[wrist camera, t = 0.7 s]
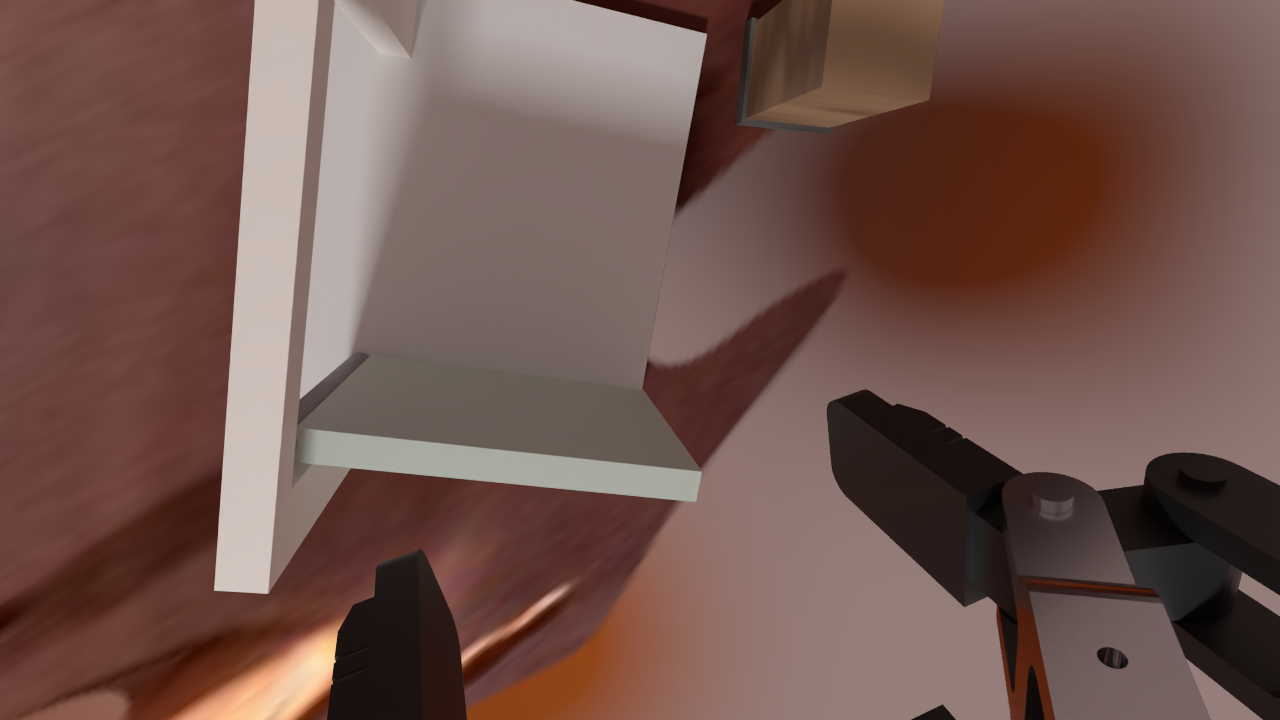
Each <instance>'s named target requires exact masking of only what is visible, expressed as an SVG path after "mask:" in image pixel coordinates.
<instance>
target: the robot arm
mask: <svg viewBox="0 0 1280 720" xmlns="http://www.w3.org/2000/svg"><path fill="white" fill-rule="evenodd" d="M827 421H828V432H829V443H830V455H831V465H832V471H833V474H834V477H835V480H836V481H837V484H838V485H839V487H840V489H841V490H842V492H843V493H844V494H845V495H846V497H847V498H849V499H850V500H851V501H852V502H853V503H854V504H855V505H856V506H857V507H858V508H859V509H860V510H861V511H862V512H863V513H864V514H866V515H867V516H868V517H869V518H870V519H871V520H872V521H873V522H874V523H875V524H876V525H877V526H878V527H880V529H881V530H883V531H884V532H885V533H886V534H887V535H888V536H889V537H890V538H891V539H892V540H893V541H894V542H895V543H896V544H897V545H899V546H900V547H901V548H902V549H903V550H904V551H905V552H906V553H907V554H908V555H909V556H910V557H911V558H912V559H913V560H915V561H916V562H917V563H918V564H919V565H920V566H921V567H922V568H923V569H924V570H925V571H926V572H927V573H928V574H929V575H931V576H932V577H933V578H934V579H935V580H936V581H937V582H938V583H939V584H940V585H941V586H942V587H943V588H944V589H945V590H947V591H948V592H949V593H950V594H951V595H952V596H953V597H954V598H955V599H956V600H957V601H958V602H959V603H961V604H962V605H963V606H964V607H966V606H968V605H970V604H972V603H975V602H977V601H979V600H981V599H984V598H986V597H989V598H990V599H992V600H993V601H994V602H995V603H996V604H997V611H996V618H997V619H996V620H997V626H998V633H999V640H1000V647H1001V654H1002V661H1003V667H1004V674H1005V681H1006V688H1007V695H1008V701H1009V709H1010V719H1011V720H1211V719H1210V716H1209V714H1208V711H1207V709H1206V706H1205V704H1204V702H1203V699H1202V697H1201V694H1200V692H1199V690H1198V687H1197V685H1196V682H1195V680H1194V678H1193V675H1192V673H1191V670H1190V668H1189V665H1188V663H1187V661H1186V659H1188V660H1189V661H1190V662H1192V663H1193V664H1194V665H1195V666H1196V667H1198V668H1199V669H1200V670H1201V671H1203V672H1204V673H1205V674H1206V675H1208V676H1209V677H1210V678H1211V679H1213V680H1214V681H1215V682H1216V683H1218V684H1219V685H1220V686H1221V687H1223V688H1224V689H1225V690H1226V691H1228V692H1229V693H1230V694H1231V695H1233V696H1234V697H1235V698H1236V699H1238V700H1239V701H1240V702H1242V703H1243V704H1244V705H1245V706H1247V707H1248V708H1249V709H1250V710H1252V711H1253V712H1254V713H1255V714H1257V715H1258V716H1259V717H1260V718H1262V719H1263V720H1280V616H1278V615H1277V614H1275V613H1273V612H1272V611H1271V610H1269V609H1268V608H1266V607H1265V606H1263V605H1262V604H1260V603H1258V602H1257V601H1255V600H1254V599H1252V598H1251V597H1249V596H1248V595H1246V594H1245V593H1243V592H1242V591H1240V590H1239V589H1238V587H1239V583H1240V579H1241V575H1242V572H1244V573H1245V574H1247V575H1248V576H1250V577H1251V578H1253V579H1255V580H1256V581H1258V582H1260V583H1261V584H1263V585H1264V586H1266V587H1267V588H1269V589H1271V590H1272V591H1274V592H1275V593H1277V594H1278V595H1280V485H1278V484H1276V483H1274V482H1272V481H1270V480H1268V479H1266V478H1264V477H1262V476H1260V475H1258V474H1255V473H1254V472H1251V471H1250V470H1247V469H1245V468H1243V467H1241V466H1239V465H1237V464H1235V463H1233V462H1230V461H1227V460H1225V459H1222V458H1218V457H1214V456H1210V455H1205V454H1197V453H1171V454H1166V455H1162V456H1159V457H1157V458H1155V459H1153V460H1152V461H1151V462H1149V464H1148V465H1147V468H1146V473H1145V479H1144V485H1139V486H1131V487H1124V488H1116V489H1109V490H1101V491H1096V490H1095V489H1093V488H1092V487H1091V486H1089V485H1088V484H1086V483H1084V482H1082V481H1080V480H1078V479H1075V478H1073V477H1070V476H1066V475H1062V474H1057V473H1049V472H1033V473H1026V474H1022V473H1021V472H1019V471H1018V470H1015V468H1013V467H1011V466H1010V465H1008V464H1007V463H1005V462H1003V461H1002V460H1000V459H999V458H997V457H996V456H994V455H992V454H991V453H989V452H988V451H986V450H984V449H983V448H981V447H980V446H978V445H976V444H975V443H973V442H972V441H970V440H969V439H967V438H965V439H963V437H962V435H961V434H959V433H958V432H956V431H955V430H953V429H951V428H950V427H948V428H946V426H945V424H943V423H942V422H940V421H939V420H937V419H936V418H934V417H932V416H931V415H929V414H928V413H926V412H924V411H921V410H917V409H914V408H911V407H907V406H904V405H900V404H896V405H894V406H892V405H890V404H889V403H887V402H885V401H884V400H883V399H881V398H880V397H878V396H877V395H875V394H874V393H872V392H871V391H869V390H861V391H858V392H855V393H853V394H850V395H847V396H844V397H842V398H839V399H836V400H834V401H831V402H829V404H828V406H827ZM335 660H336V662H335V663H334V668H333V676H332V680H333V685H331V692H330V700H329V708H328V716H327V720H467V716H466V704H465V694H464V683H463V673H462V662H461V652H460V644H459V638H458V634H457V630H456V626H455V623H454V620H453V617H452V614H451V611H450V609H449V607H448V605H447V602H446V600H445V598H444V595H443V593H442V591H441V589H440V586H439V584H438V582H437V580H436V577H435V575H434V573H433V571H432V568H431V566H430V564H429V561H428V559H427V557H426V555H425V553H424V552H423V550H422V549H418V550H415V551H413V552H410V553H407V554H404V555H402V556H399V557H396V558H393V559H391V560H388V561H385V562H382V563H380V564H378V565H377V567H376V580H375V596H374V597H373V598H370V599H367V600H365V601H362V602H359V603H356V604H354V605H353V606H352V608H351V610H350V612H349V613H348V615H347V617H346V619H345V620H344V622H343V624H342V626H341V627H340V629H339V631H338V636H337V644H336V652H335ZM912 720H956V719H955V718H954V717H953V716H952V715H951V714H950V712H949V711H948V710H947V709H946V708H945V707H944V706H943V705H941V706H938V707H937V708H934V709H932V710H930V711H928V712H926V713H924V714H922V715H920V716H918V717H916V718H914V719H912Z"/></svg>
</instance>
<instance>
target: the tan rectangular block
mask: <svg viewBox="0 0 1280 720" xmlns="http://www.w3.org/2000/svg"><path fill="white" fill-rule="evenodd" d="M943 6H944V0H782V1H781V2H780V3H779V4H777V5H776V6H775V7H774V8H773V9H771V10H770V11H769V12H768V13H766V14H765V15H764V16H763V17H761V18H760V19H759V18H751V19H750V20H748V21H747V22H746V23H745V33H744V43H743V53H742V63H741V73H740V83H739V93H738V103H737V114H736V124H735V125H743V126H752V127H761V128H770V129H780V130H789V131H798V132H807V133H817V134H826V133H830V132H832V127H833V126H837V125H840V124H843V123H847V122H851V121H855V120H858V119H862V118H865V117H869V116H872V115H876V114H880V113H883V112H887V111H891V110H894V109H898V108H902V107H905V106H909V105H912V104H916V103H920V102H923V101H927V100H929V98H930V90H931V84H932V77H933V71H934V65H935V58H936V52H937V45H938V39H939V32H940V26H941V19H942V12H943Z"/></svg>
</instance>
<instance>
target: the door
mask: <svg viewBox="0 0 1280 720" xmlns="http://www.w3.org/2000/svg"><path fill="white" fill-rule="evenodd" d="M294 462H296V463H307V464H317V465H327V466H337V467H347V468H357V469H367V470H378V471H388V472H398V473H408V474H418V475H428V476H438V477H448V478H459V479H469V480H479V481H489V482H499V483H509V484H519V485H529V486H540V487H550V488H560V489H570V490H580V491H590V492H600V493H610V494H621V495H631V496H641V497H651V498H661V499H671V500H681V501H692V502H696V499H697V494H698V489H699V484H700V479H701V474H702V471H701V470H700V468H699V467H698V466H697V464H696V463H695V461H694V460H693V459H692V457H691V456H690V454H689V453H688V452H687V450H686V449H685V447H684V446H683V445H682V443H681V442H680V440H679V439H678V438H677V436H676V435H675V433H674V432H673V431H672V429H671V428H670V426H669V425H668V424H667V422H666V421H665V419H664V418H663V417H662V415H661V414H660V412H659V411H658V410H657V408H656V407H655V406H654V404H653V403H652V401H651V400H650V399H649V397H648V396H647V394H646V393H645V392H644V390H639V389H631V388H624V387H616V386H609V385H601V384H594V383H586V382H579V381H571V380H564V379H556V378H549V377H541V376H533V375H526V374H518V373H511V372H503V371H496V370H488V369H481V368H473V367H466V366H458V365H451V364H443V363H436V362H428V361H420V360H413V359H405V358H398V357H390V356H383V355H375V354H372V355H371V356H368V355H367V354H365V353H355V354H353V355H351V356H350V357H349V358H348V359H347V360H345V361H344V362H343V363H342V364H341V365H340V366H338V367H337V368H336V369H335V370H334V371H333V372H331V373H330V374H329V375H328V376H327V377H326V378H324V379H323V380H322V381H321V382H320V383H318V384H317V385H316V386H315V387H314V388H313V389H311V390H310V391H309V392H308V393H307V394H306V395H304V396H303V397H302V398H301V399H300V400H299V410H298V421H297V432H296V444H295V455H294Z"/></svg>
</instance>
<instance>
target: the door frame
mask: <svg viewBox="0 0 1280 720" xmlns="http://www.w3.org/2000/svg"><path fill="white" fill-rule="evenodd" d="M706 37H707V34H705V33H701V32H697V31H693V30H689V29H685V28H681V27H677V26H673V25H669V24H665V23H661V22H657V21H653V20H649V19H645V18H641V17H637V16H633V15H629V14H625V13H621V12H617V11H613V10H609V9H605V8H601V7H597V6H593V5H589V4H585V3H581V2H577V1H573V0H255V10H254V24H253V39H252V53H251V68H250V82H249V97H248V111H247V126H246V140H245V154H244V169H243V183H242V198H241V212H240V227H239V241H238V256H237V270H236V285H235V299H234V313H233V328H232V342H231V357H230V371H229V386H228V400H227V415H226V429H225V444H224V458H223V473H222V487H221V501H220V516H219V530H218V545H217V559H216V574H215V588H214V590H215V591H231V592H248V593H264V594H268V593H269V592H270V590H271V588H272V587H273V585H274V584H275V582H276V581H277V579H278V578H279V576H280V575H281V573H282V572H283V570H284V569H285V567H286V566H287V564H288V563H289V561H290V560H291V558H292V556H293V555H294V553H295V552H296V550H297V549H298V547H299V546H300V544H301V543H302V541H303V540H304V538H305V537H306V535H307V534H308V532H309V531H310V529H311V528H312V526H313V524H314V523H315V521H316V520H317V518H318V517H319V515H320V514H321V512H322V511H323V509H324V508H325V506H326V505H327V503H328V502H329V500H330V499H331V497H332V496H333V494H334V493H335V491H336V489H337V488H338V486H339V485H340V483H341V482H342V480H343V479H344V477H345V476H346V474H347V473H348V471H349V470H350V468H347V467H337V466H327V465H317V464H307V463H296V462H294V455H295V444H296V432H297V421H298V410H299V400H300V399H301V398H302V397H303V396H304V395H306V394H307V393H308V392H309V391H310V390H311V389H313V388H314V387H315V386H316V385H317V384H318V383H320V382H321V381H322V380H323V379H324V378H326V377H327V376H328V375H329V374H330V373H331V372H333V371H334V370H335V369H336V368H337V367H338V366H340V365H341V364H342V363H343V362H344V361H345V360H347V359H348V358H349V357H350V356H351V355H353V354H355V353H365V354H367V355H368V356H371V355H372V354H375V355H383V356H390V357H398V358H405V359H413V360H420V361H428V362H436V363H443V364H451V365H458V366H466V367H473V368H481V369H488V370H496V371H503V372H511V373H518V374H526V375H533V376H541V377H549V378H556V379H564V380H571V381H579V382H586V383H594V384H601V385H609V386H616V387H624V388H631V389H639V390H642V386H643V381H644V375H645V370H646V364H647V359H648V353H649V348H650V343H651V337H652V332H653V326H654V321H655V315H656V310H657V304H658V299H659V293H660V288H661V283H662V277H663V272H664V266H665V261H666V255H667V250H668V244H669V239H670V233H671V228H672V223H673V217H674V212H675V206H676V201H677V195H678V190H679V184H680V179H681V174H682V168H683V163H684V157H685V152H686V146H687V141H688V135H689V130H690V124H691V119H692V114H693V108H694V103H695V97H696V92H697V86H698V81H699V75H700V70H701V65H702V59H703V54H704V48H705V43H706Z"/></svg>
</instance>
